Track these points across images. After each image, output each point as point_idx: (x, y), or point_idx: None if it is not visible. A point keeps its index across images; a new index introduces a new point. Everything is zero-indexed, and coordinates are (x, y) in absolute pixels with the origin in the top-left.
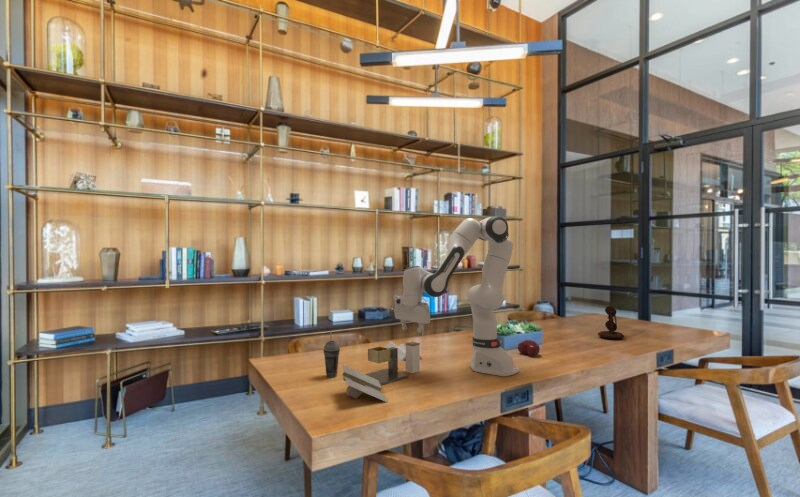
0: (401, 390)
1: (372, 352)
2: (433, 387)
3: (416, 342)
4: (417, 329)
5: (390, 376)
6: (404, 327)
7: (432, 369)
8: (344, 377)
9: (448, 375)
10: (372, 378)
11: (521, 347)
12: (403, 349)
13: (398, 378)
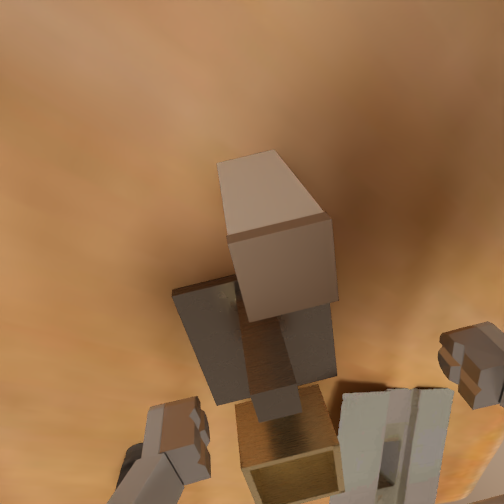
0: (419, 333)
1: (294, 490)
2: (492, 228)
3: (290, 232)
4: (480, 397)
5: (293, 325)
6: (209, 457)
7: (290, 44)
8: None
9: (449, 38)
10: (346, 419)
11: None
12: None
13: (329, 305)
